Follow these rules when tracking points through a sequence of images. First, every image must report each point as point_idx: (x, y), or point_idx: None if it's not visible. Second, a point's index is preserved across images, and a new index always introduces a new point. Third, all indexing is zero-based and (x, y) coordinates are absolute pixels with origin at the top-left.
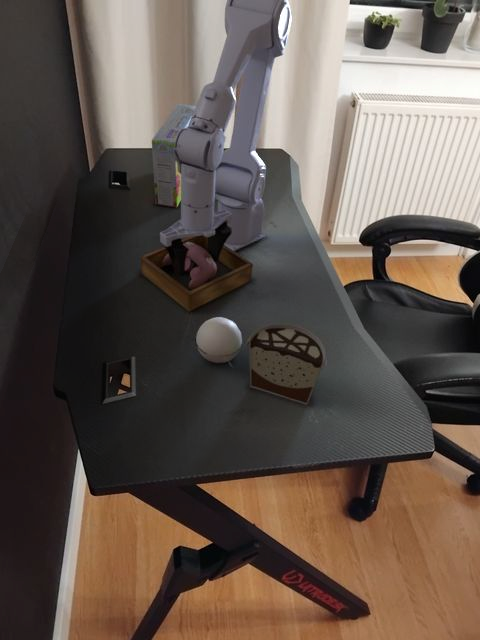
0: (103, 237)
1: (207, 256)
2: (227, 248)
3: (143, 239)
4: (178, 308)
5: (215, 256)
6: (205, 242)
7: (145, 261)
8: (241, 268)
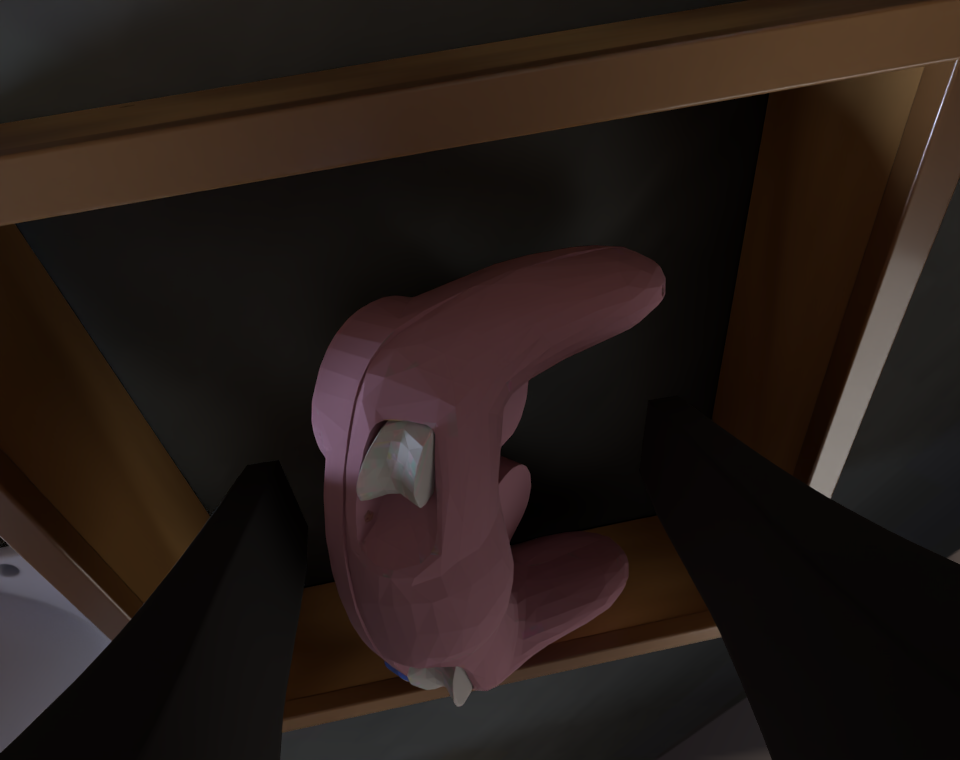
0: (645, 709)
1: (376, 528)
2: (70, 578)
3: (518, 687)
4: None
5: (264, 512)
6: None
7: None
8: None
